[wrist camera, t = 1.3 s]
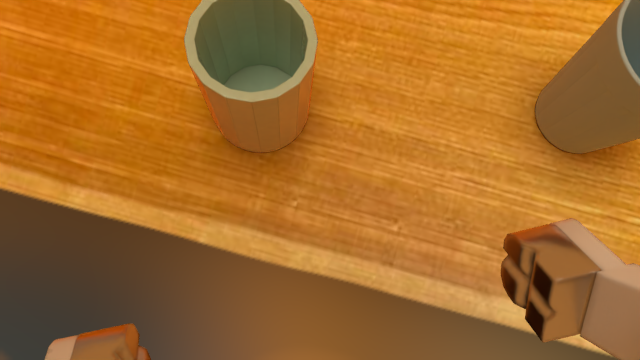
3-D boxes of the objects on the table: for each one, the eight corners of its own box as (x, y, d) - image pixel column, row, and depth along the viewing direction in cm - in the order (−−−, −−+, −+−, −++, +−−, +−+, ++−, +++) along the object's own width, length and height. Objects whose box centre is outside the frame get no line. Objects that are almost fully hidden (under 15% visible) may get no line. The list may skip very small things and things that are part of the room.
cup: (499, 86, 34) (590, 0, 24) (591, 50, 35) (716, -46, 25) (549, 184, 33) (669, 138, 23) (644, 144, 34) (798, 83, 24)
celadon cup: (222, 161, 32) (197, 112, 23) (205, 72, 33) (174, -8, 24) (318, 142, 32) (329, 87, 23) (297, 55, 34) (301, -28, 25)
